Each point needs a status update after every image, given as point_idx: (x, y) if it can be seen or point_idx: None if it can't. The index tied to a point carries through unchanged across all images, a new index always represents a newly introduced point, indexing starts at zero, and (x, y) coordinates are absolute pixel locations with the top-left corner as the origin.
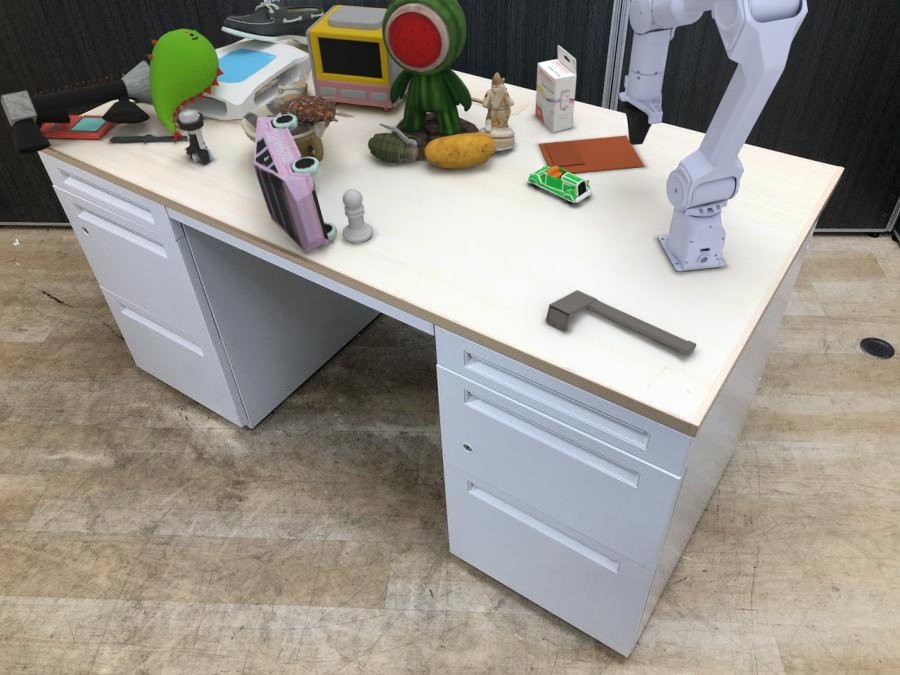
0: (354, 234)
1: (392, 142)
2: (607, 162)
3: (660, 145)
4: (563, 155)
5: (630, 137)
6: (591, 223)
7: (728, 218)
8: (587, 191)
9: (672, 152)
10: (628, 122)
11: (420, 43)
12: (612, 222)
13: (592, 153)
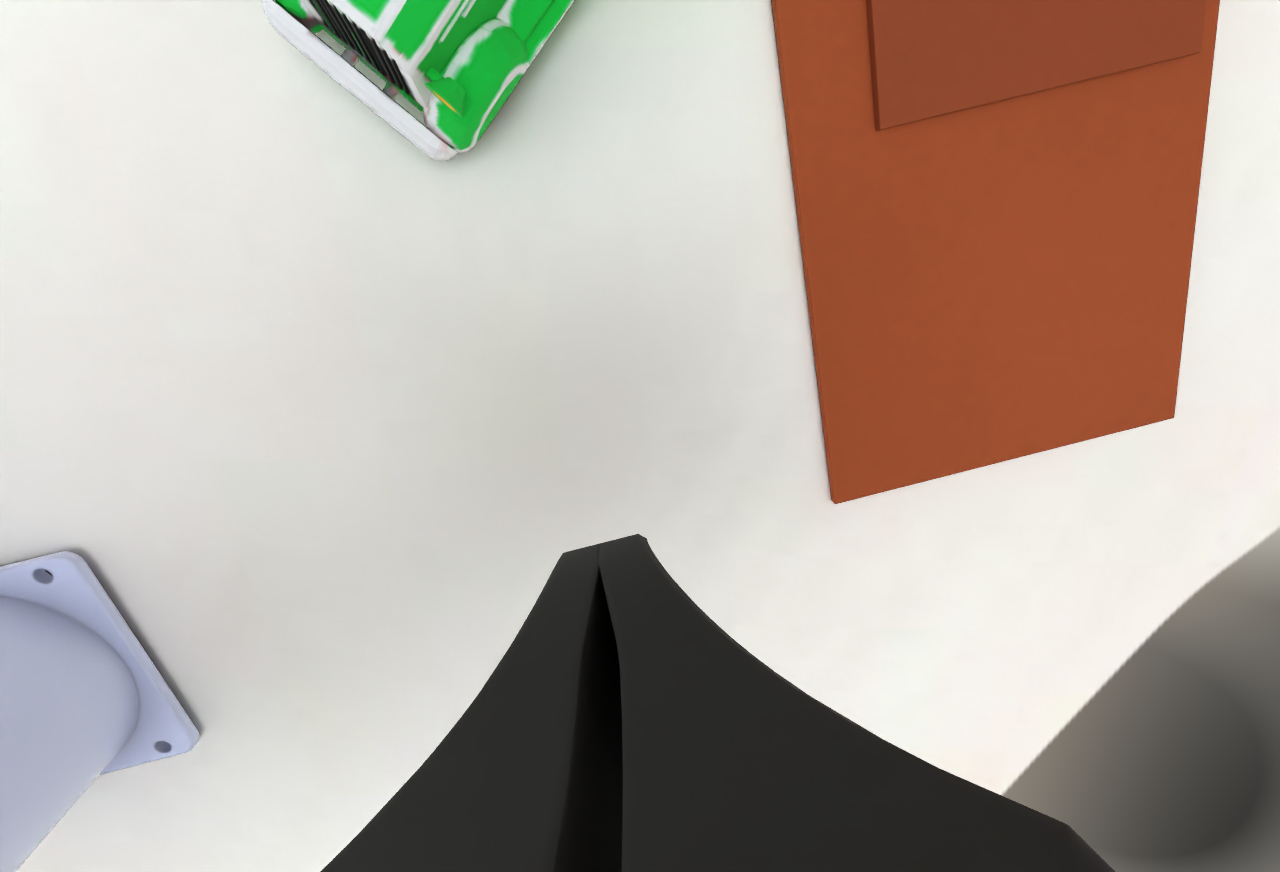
0: None
1: None
2: (888, 293)
3: (1036, 583)
4: None
5: (562, 583)
6: (117, 146)
7: None
8: (401, 110)
9: (959, 633)
10: (656, 674)
11: None
12: (178, 297)
13: (1013, 194)
